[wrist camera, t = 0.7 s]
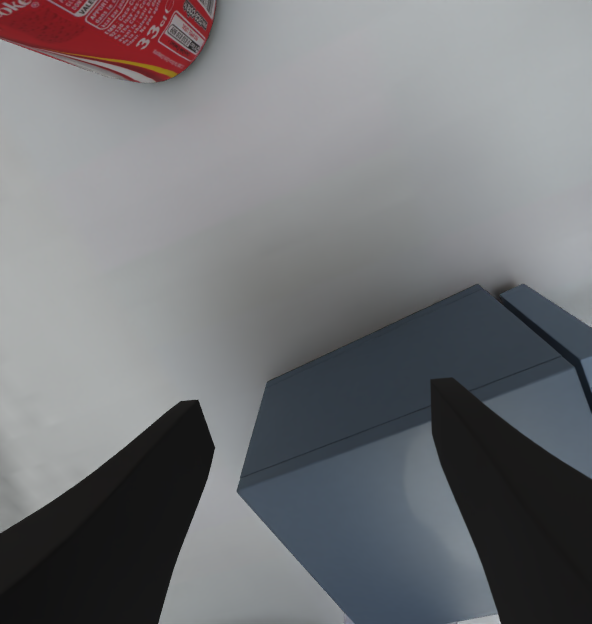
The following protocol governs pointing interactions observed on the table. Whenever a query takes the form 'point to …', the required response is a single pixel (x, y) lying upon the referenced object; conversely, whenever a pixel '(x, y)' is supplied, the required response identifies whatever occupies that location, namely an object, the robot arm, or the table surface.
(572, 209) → the table surface
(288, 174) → the table surface
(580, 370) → the drawer
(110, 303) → the table surface
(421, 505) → the cabinet
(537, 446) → the robot arm
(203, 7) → the soda can
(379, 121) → the table surface
